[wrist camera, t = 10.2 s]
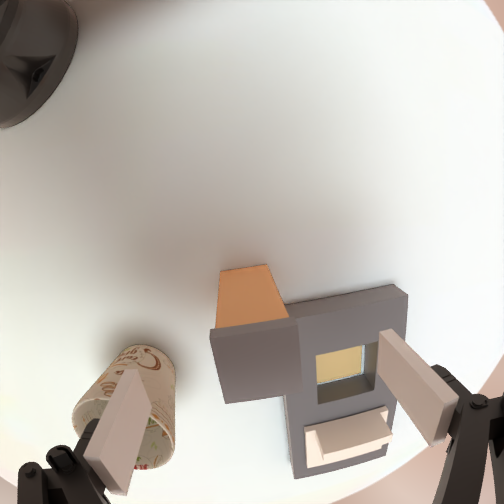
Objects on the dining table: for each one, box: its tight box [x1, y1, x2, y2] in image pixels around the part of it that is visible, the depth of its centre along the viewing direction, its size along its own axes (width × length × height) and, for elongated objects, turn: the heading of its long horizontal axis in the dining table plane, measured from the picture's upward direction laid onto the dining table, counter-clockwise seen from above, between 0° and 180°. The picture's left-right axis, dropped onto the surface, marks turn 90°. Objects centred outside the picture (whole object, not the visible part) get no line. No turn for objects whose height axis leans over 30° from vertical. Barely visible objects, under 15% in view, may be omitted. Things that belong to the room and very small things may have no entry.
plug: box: [210, 264, 303, 404], centre depth 21 cm, size 4×4×12 cm
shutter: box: [304, 406, 393, 468], centre depth 27 cm, size 7×9×4 cm
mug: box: [72, 345, 175, 470], centre depth 24 cm, size 8×13×10 cm, turn 166°
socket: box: [283, 284, 408, 479], centre depth 29 cm, size 23×12×3 cm, turn 8°
